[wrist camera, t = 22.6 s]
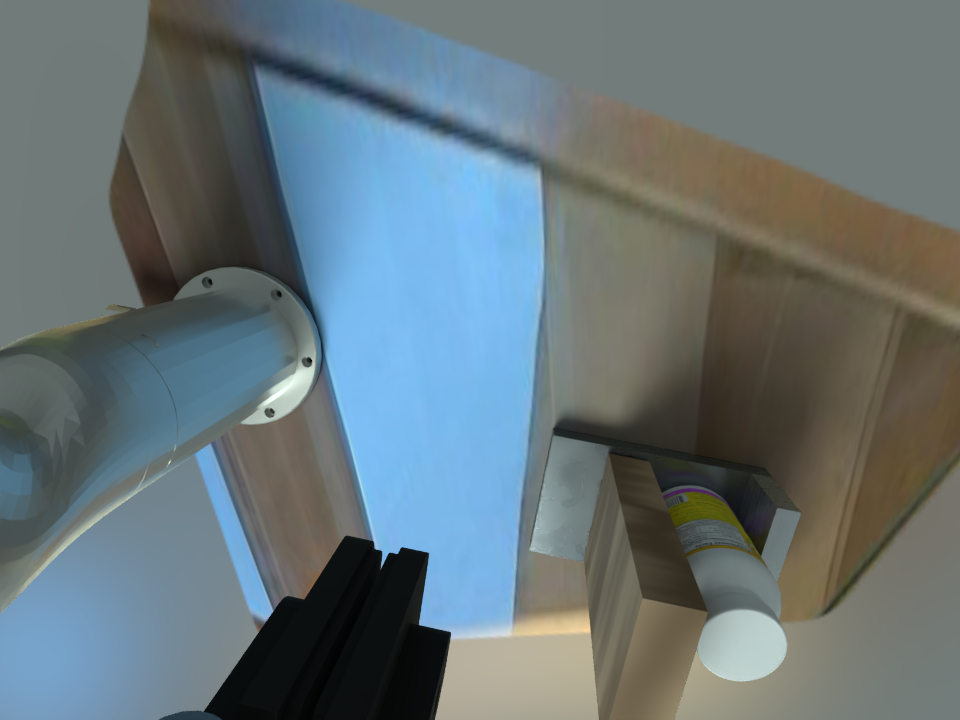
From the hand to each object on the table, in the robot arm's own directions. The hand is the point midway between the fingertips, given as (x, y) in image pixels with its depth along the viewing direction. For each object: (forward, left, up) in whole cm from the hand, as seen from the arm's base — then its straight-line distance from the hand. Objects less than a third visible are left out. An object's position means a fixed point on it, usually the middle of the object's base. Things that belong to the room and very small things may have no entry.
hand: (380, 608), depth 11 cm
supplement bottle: (+16, -13, -31) cm, 37 cm away
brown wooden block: (+11, -13, -30) cm, 35 cm away
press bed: (+13, -13, -32) cm, 37 cm away
